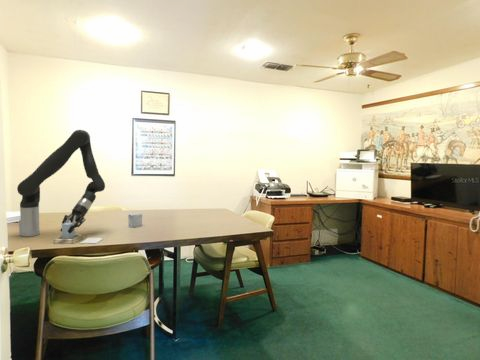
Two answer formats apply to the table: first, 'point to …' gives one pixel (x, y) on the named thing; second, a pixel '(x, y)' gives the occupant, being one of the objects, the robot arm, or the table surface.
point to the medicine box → (135, 220)
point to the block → (65, 230)
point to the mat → (92, 240)
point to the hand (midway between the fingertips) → (65, 231)
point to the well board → (68, 241)
